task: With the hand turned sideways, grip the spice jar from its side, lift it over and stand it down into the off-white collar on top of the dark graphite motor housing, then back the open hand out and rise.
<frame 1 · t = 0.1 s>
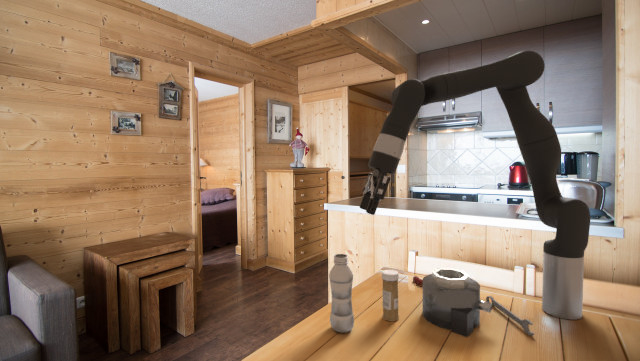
hand: (366, 211, 85), 31 cm above the table, tool tilted 20°, fingers open, 8 cm apart
combination wrench: (507, 319, 89), on the table
motor housing: (450, 316, 91), on the table
spice jar: (390, 318, 91), on the table
plastic bottle: (342, 330, 86), on the table
pliers: (435, 290, 111), on the table
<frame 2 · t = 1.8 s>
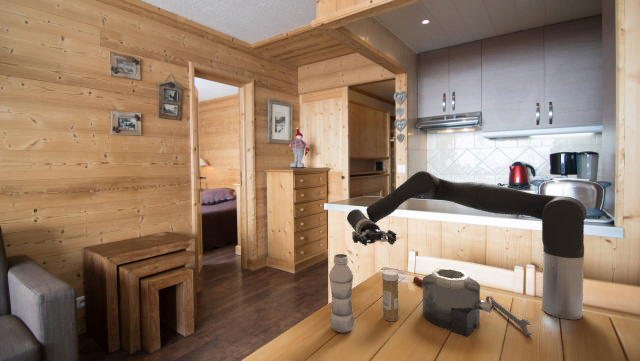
hand: (379, 242, 101), 19 cm above the table, tool horizontal, fingers open, 8 cm apart
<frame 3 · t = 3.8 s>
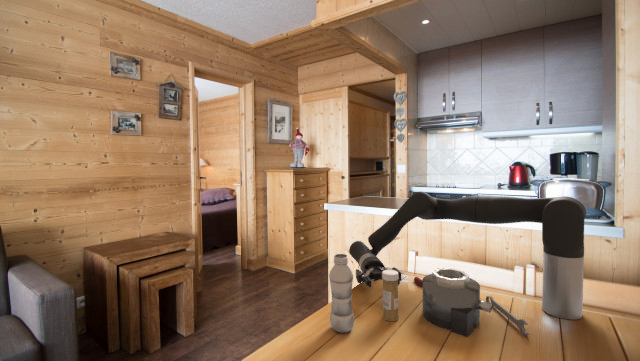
hand: (384, 283, 97), 7 cm above the table, tool horizontal, fingers open, 8 cm apart
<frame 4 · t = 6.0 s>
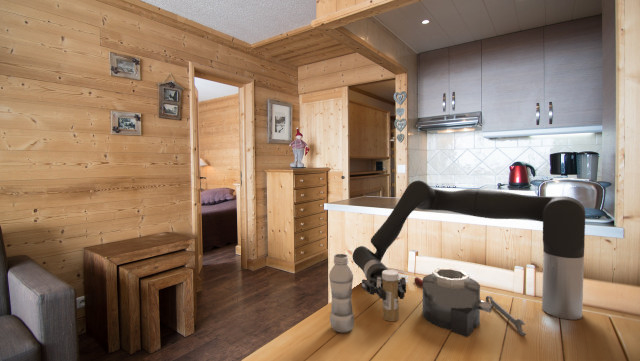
hand: (393, 296, 88), 8 cm above the table, tool horizontal, fingers closed on spice jar, 4 cm apart
spice jar: (390, 318, 91), on the table, touching gripper
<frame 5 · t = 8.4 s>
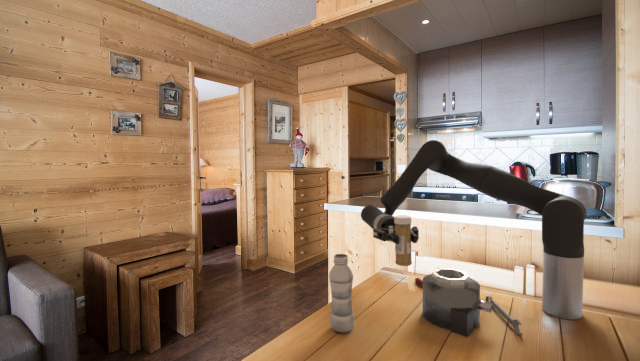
hand: (406, 239, 86), 23 cm above the table, tool horizontal, fingers closed on spice jar, 4 cm apart
spice jar: (403, 264, 89), point 16 cm above the table, touching gripper
when the fingers open (19 cm above the table, at t = 10.7 s): spice jar drops 1 cm, resting on motor housing.
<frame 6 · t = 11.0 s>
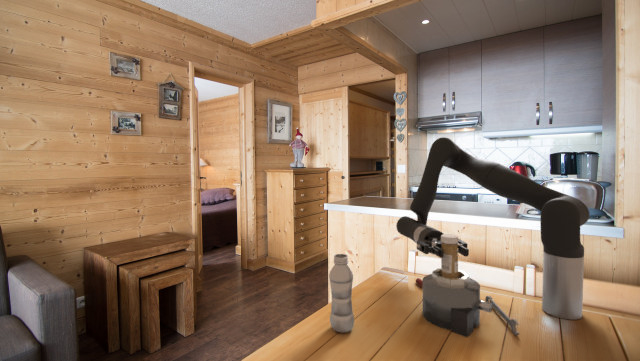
hand: (454, 253, 87), 19 cm above the table, tool horizontal, fingers open, 6 cm apart
spice jar: (449, 282, 90), point 10 cm above the table, touching motor housing
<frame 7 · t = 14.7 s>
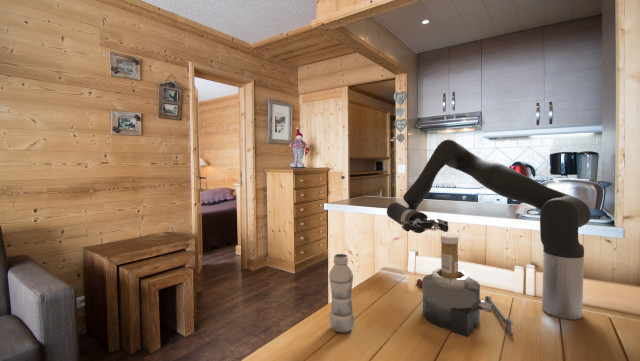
hand: (433, 229, 100), 23 cm above the table, tool horizontal, fingers open, 8 cm apart
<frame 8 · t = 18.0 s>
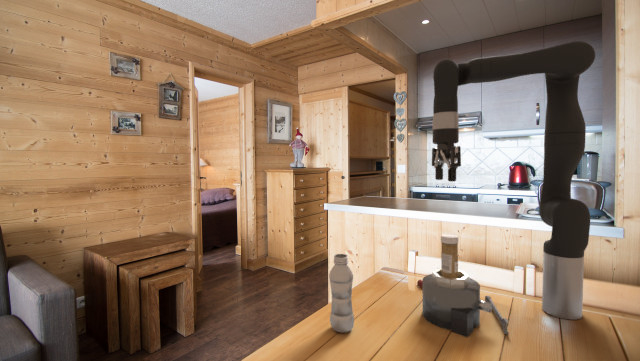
hand: (445, 180, 100), 38 cm above the table, tool pointing down, fingers open, 8 cm apart
at the end: spice jar 0.2 cm off-centre on the motor housing, point 9.8 cm above the motor housing's base; spice jar tilted 0°; the gripper is holding nothing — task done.
